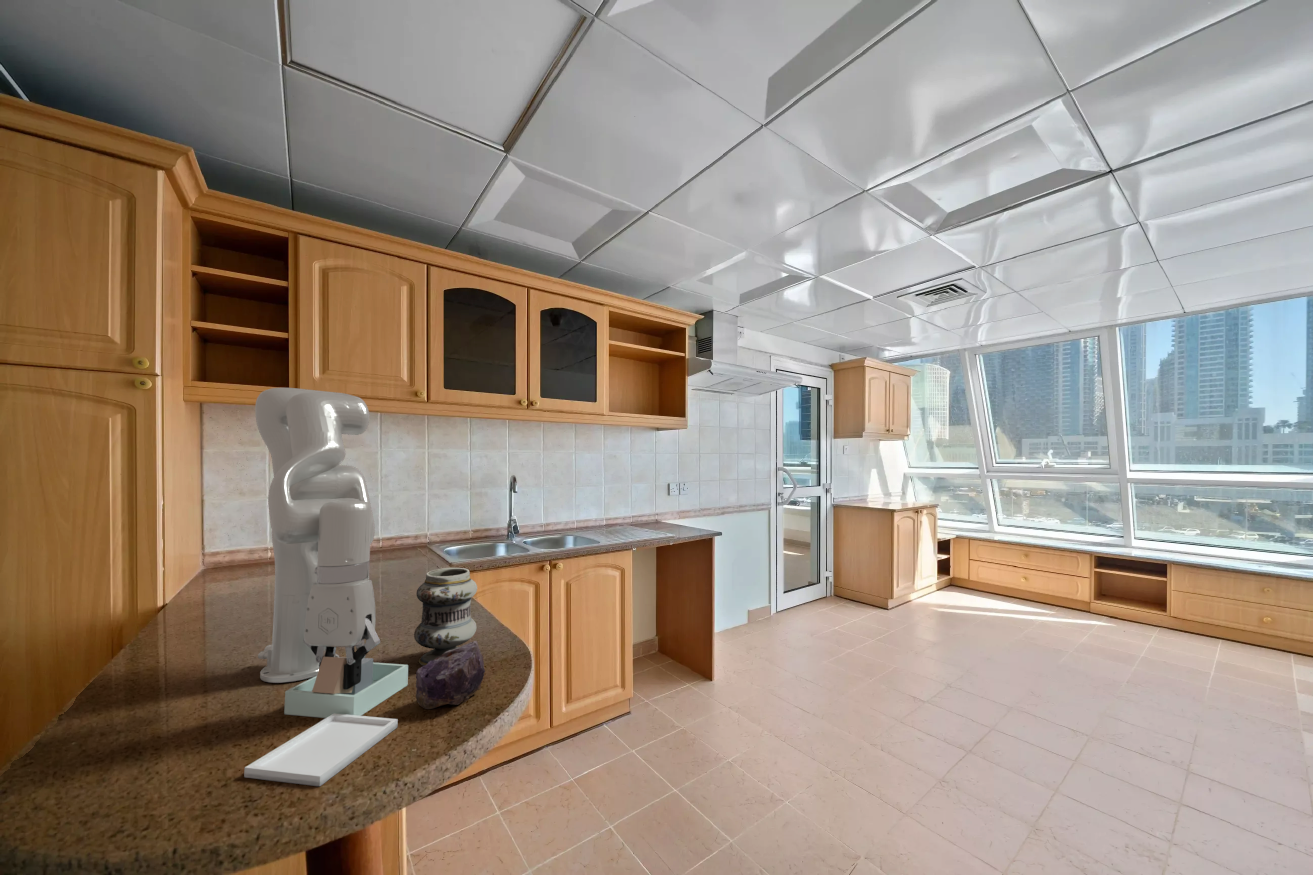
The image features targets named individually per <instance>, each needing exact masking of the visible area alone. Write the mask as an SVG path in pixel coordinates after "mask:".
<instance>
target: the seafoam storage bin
mask: <svg viewBox="0 0 1313 875" xmlns="http://www.w3.org/2000/svg"><path fill="white" fill-rule="evenodd" d="M316 677H317V676H314V677H311V678H308V680H307V679H306V680H305V681H303V682H301V683H299V684H297V685H294V686H293V687H290V688H289V689H287V690H285V691H284V692H285V693H284V710H283V711H284V712H283V713H284V715H290V716H300V717H311V718H321V719H322V718H323V719H325V718H327V717H329V716H330V715H332V714H334V713H336V714H347V715H358V716H364V714H365V713H368V711H370V710H372V709H373V708H375V707H376V706H378V705H379V704H381V703H382V702H384V701H386V700H387V699H389V698H390V697H391V696H393V695H395V694H396V693H397V692H399V691H401V690H402V689H404V688H406V687H407V686H408V685H409V684H408V683H409V682H408V681H409V680H408V678H409V665H408V664H401V663H400V664H399V663H387V662H386V663H385V662H374V661H373V681H372V685H370V686H368V687H367V688H365V689H363V690H362V691H360V692H358V693H357V694H355V695H347V694H332V693H319V692H312V690H313V687H314V684H315V681H316Z"/></svg>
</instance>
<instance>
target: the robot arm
mask: <svg viewBox="0 0 1313 875" xmlns="http://www.w3.org/2000/svg"><path fill="white" fill-rule="evenodd" d="M254 407H255V408H254V409H255V410H254V416H255V421H256V425H257V426H256V427H257V429H258V432H259V434H260V436H261V440H263V442H264V444H265V446H266V448H267V449H268V452H269V454H270V456H271V464H272V472H273V478H272V480H271V483H270V485H269V488H268V497H267V502H268V505H267V506H268V512H269V513H268V514H269V521H270V528H271V543H272V550H273V557H274V598H273V600H274V602H273V617H272V618H273V620H272V621H273V622H272V636H271V637H272V639H271V644H268V645H266V646H265V648H264V650H263V651H262V650H261V651H260V652H259V653H258V654H257V658H258V659H259V660H260V659H261V660H262V659H263V660H266V665H265V666H264V667H263V668H262V669H260V670H261V671H260V672H259V674H260V675H259V678H260V680H261V681H263V682H265V683H270V684H271V683H273V684H279V683H280V684H281V683H291V682H296V681H297V682H298V681H302V680H307V679H311V678H313V677H315V676H317V674H318V671H319V668H320V665H321V662H322V659H323V657H340V655H339V654H337V653H336V651H337V648H345V658H347V664H345V665H344V677H343V689H349V688H351V687H353V686H355V685H356V684H358V683H360V681H361V664H362V659H363V658H366V657H367V655H368V653H369V652H370V651H371V650H372V649H374V648H376V647H377V646H378V645H380V644H381V640H380V637H379V636H378V633H377V632H376V622H377V620H376V619H377V618H376V600H375V592H374V586H373V581H372V579H370V562H371V561H370V560H371V558H370V557H371V556H370V555H371V544H372V543H373V541H374V539H375V532H376V530H375V529H376V526H375V520H374V514H373V510H372V505H371V500H370V496H369V491H368V486H367V485H368V484H367V483H366V478H365V476H364V474H363V472H362V471H361V470H360V469H359V468H357V467H356V466H352V465H347V464H346V465H345V464H343V465H342V462H343V461H344V460H345V458H346V448H345V444H344V439H343V435H351V436H352V435H353V436H354V435H355V436H359V435H362V434H364V433H365V432H366V431H367V429H368V428H369V424H370V419H371V418H370V410H369V406H368V405H367V404H366V402H365V400H363V399H362V398H361V397H359V396H355V395H353V394H348V393H344V392H335V391H326V390H325V391H324V390H318V389H316V390H314V389H306V388H305V389H304V388H294V387H273V388H269V389H264V390H263V391H261V392H260V394H258V396H257V398H256V401H255V406H254ZM355 648H356V649H355Z"/></svg>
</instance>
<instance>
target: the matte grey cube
mask: <svg viewBox="0 0 1313 875" xmlns="http://www.w3.org/2000/svg"><path fill="white" fill-rule="evenodd" d="M373 662H374V658H369V657H365V658H363V659H362V664H361V681H360V683H358V684H356V685H355V686H353V689H352V693H336V694H347V695H355V694H357V693H358V692H360V691H362V690H363V689H365V688H367V687H368V686H370V685H372V681H373Z"/></svg>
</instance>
